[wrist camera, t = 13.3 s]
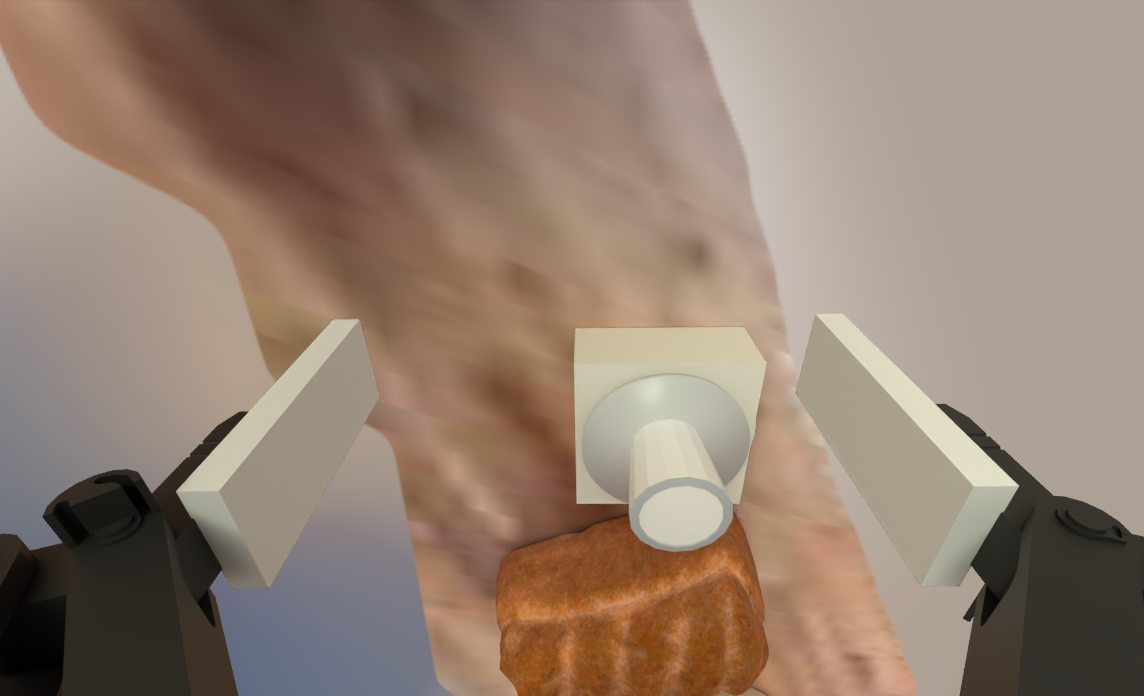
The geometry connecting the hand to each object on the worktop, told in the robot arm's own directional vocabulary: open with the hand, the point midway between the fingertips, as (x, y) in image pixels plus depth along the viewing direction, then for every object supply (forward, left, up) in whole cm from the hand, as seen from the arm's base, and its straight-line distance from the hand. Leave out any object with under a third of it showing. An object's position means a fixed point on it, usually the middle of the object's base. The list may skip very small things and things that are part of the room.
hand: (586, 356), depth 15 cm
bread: (+4, -40, -25) cm, 47 cm away
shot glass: (+6, -18, -18) cm, 26 cm away
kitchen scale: (+6, -18, -25) cm, 32 cm away
